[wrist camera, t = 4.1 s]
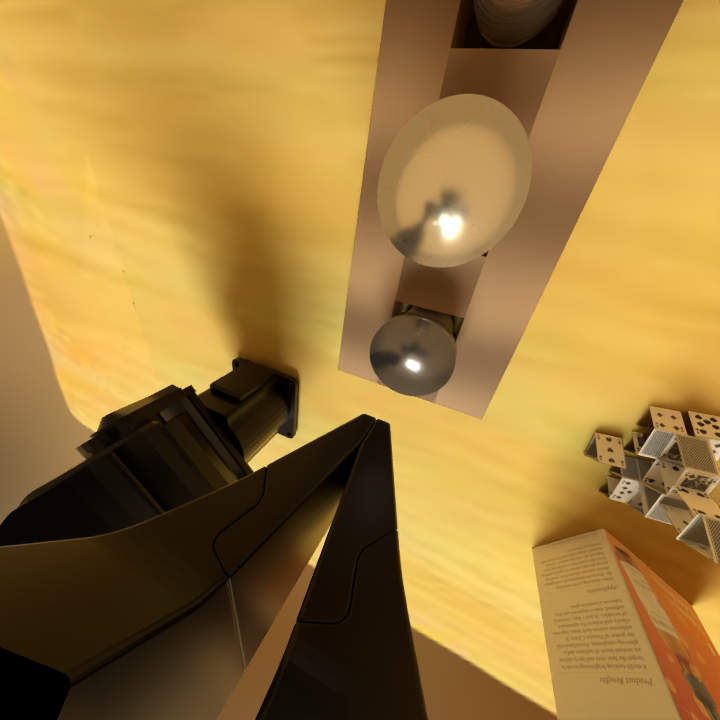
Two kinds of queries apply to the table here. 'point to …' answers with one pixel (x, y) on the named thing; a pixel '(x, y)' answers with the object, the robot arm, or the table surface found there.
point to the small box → (621, 636)
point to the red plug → (513, 19)
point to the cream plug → (454, 180)
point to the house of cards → (670, 475)
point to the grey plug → (415, 351)
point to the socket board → (548, 181)
